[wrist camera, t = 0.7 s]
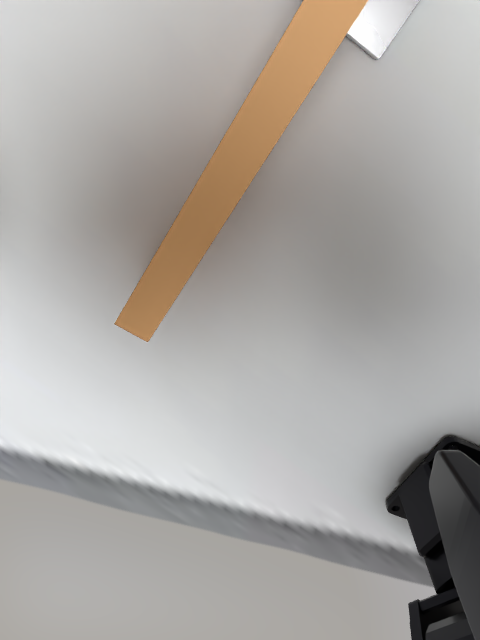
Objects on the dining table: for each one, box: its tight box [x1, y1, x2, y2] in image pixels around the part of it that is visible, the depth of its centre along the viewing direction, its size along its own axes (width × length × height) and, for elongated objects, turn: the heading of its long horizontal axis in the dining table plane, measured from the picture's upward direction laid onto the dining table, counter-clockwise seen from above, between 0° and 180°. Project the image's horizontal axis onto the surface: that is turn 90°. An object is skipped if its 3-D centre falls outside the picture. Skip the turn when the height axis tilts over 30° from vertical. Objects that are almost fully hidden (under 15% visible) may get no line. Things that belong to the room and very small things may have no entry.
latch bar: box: [114, 0, 368, 342], centre depth 15 cm, size 2×17×2 cm, turn 147°
